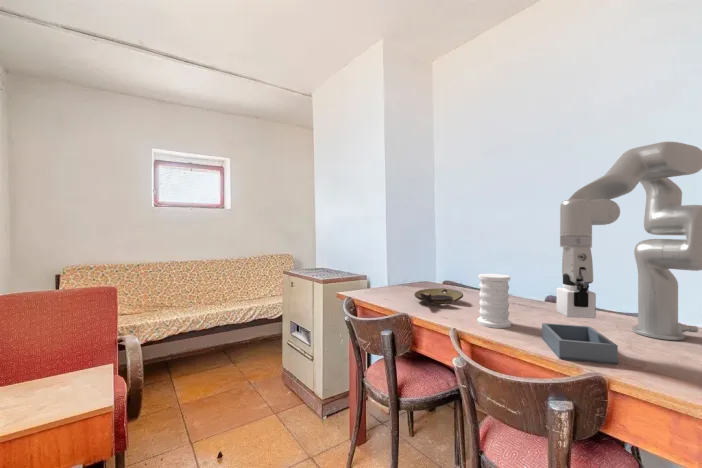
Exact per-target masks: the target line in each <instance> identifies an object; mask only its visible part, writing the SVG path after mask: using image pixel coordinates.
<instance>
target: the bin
mask: <svg viewBox="0 0 702 468" xmlns="http://www.w3.org/2000/svg"><path fill="white" fill-rule="evenodd" d="M541 339H542V341H544V343H545V344H546V345H547V346H548V348H550V350H551V351H552V352H553V353H554V354H555V356H556V357H557V358H558V359H559V360H567V361H576V362H586V363H595V364H596V363H598V364H607V365H615V366H618V365H619V364H618V363H619V361H618V359H619V358H618V357H619V356H618V355H619V353H618V351H619V350H618V349H619V345H617V344H616V343H615V342H613V341H612V340H611V339H609V338H607V337H606V336H605V335H603V334H602V333H600V332H599V331H597V330H596V329H594V328H593V327H592V326H588V325H577V324H576V325H575V324H562V323H546V322H541Z"/></svg>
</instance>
